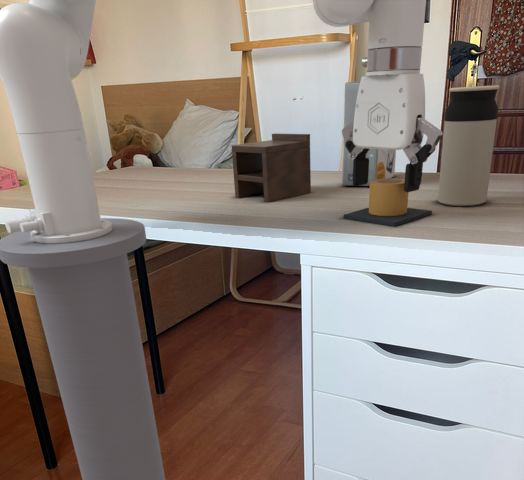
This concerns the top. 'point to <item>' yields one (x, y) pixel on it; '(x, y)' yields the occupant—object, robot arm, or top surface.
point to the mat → (387, 220)
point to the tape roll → (388, 197)
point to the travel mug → (468, 145)
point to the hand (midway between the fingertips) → (384, 187)
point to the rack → (273, 167)
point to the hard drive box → (378, 158)
